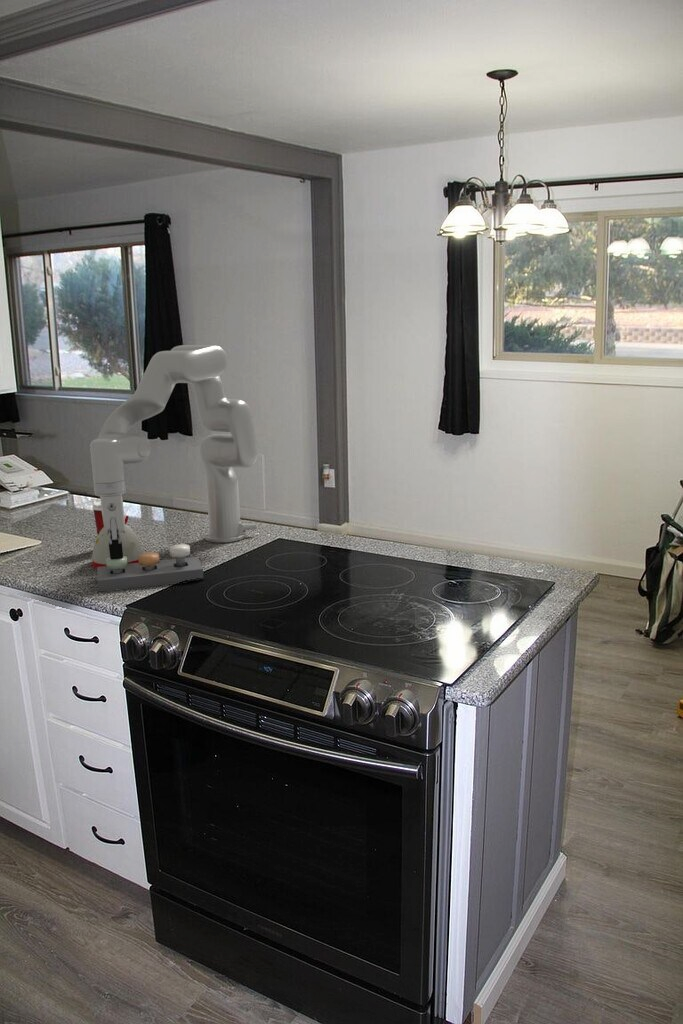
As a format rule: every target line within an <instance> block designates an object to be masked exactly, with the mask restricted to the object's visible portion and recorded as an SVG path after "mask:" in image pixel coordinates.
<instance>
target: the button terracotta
mask: <svg viewBox="0 0 683 1024" xmlns="http://www.w3.org/2000/svg"><path fill="white" fill-rule="evenodd" d="M138 560H139V565H142V566H145V570H154V565H155V564H158V563H159V561H160V555H159V553H158V552H143V554H140V555H139V556H138Z"/></svg>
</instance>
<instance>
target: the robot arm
mask: <svg viewBox="0 0 683 1024" xmlns="http://www.w3.org/2000/svg"><path fill="white" fill-rule="evenodd" d="M227 366H228V356H227V353H226V351H225V350H224V349H223V348H222V347H221V346H219V345H215V344H181V345H176V346H173V348H171V349H170V350H162V351H158V352H156V353H155V354H154V355H152V357H151V359H150V361H149V362H148V365H147V367H146V369H145V371H144V372H143V375H142V377H141V378H140V379H141V380H140V381H139V384H138V385H137V388H136V390H135V391H134V394H132V396H131V397H129V398H128V399H126V400H125V401H124V402H123V403H121V404H120V405H119V406H118V407H116V409H114V410H113V412H111V413H110V414H109V415H108V417H107V419H106V420H105V422H104V423H103V425H102V427H101V430H100V431H99V434H98V437H97V438H95V439H92V441H90V444H89V451H90V461H91V471H92V479H93V488H94V489H93V491H94V495H95V496H97V497H99V498H100V501H101V509H102V517H103V522H104V527H105V531H106V534H107V535H108V534H109V541H110V543H109V551H110V559H120V558H123V550H122V542H121V540H120V532H123V533H125V532H126V530H125V518H126V517H125V511H124V510H125V509H124V508H125V507H124V500H123V495H124V494H126V492H127V491H126V490H127V489H126V482H125V481H126V480H125V472H124V471H125V469H124V465H128V464H129V465H130V464H140V463H143V462H144V461H146V460H147V459H148V458H149V456H150V455H151V451H152V445H151V442H150V441H149V439H148V438H147V437H146V436H144V435H143V434H139V433H131V432H130V433H128V431H129V430H130V429H131V428H132V427H134V426H135V425H136V424H138V423H139V422H143V421H145V420H148V419H150V418H152V417H154V416H156V415H158V414H160V413H162V412H163V411H164V410H165V408H166V405H167V403H168V401H169V399H170V397H171V395H172V393H173V390H174V388H175V386H176V384H190V385H191V387H192V390H193V394H194V399H195V404H196V408H197V413H198V418H199V422H200V425H201V427H202V428H203V430H205V431H209V432H217V433H213V434H209V435H207V436H205V437H204V438H203V440H202V441H201V443H200V445H199V446H200V448H199V451H200V452H199V453H200V458H201V461H202V465H203V469H204V474H205V484H206V485H205V487H206V501H207V502H206V503H207V515H208V516H207V517H208V529H209V530H208V532H206V533H204V540H205V541H207V542H210V543H219V544H220V543H221V544H222V543H233V542H237V541H241V540H243V539H245V538H246V537H247V531H254V530H255V531H256V530H257V523H251V522H246V523H244V522H243V521H241V511H240V510H241V509H240V496H239V495H240V494H239V479H238V476H237V473H236V472H235V470H234V468H240V469H247V468H251V467H253V466H254V464H255V463H256V461H257V460H258V453H259V449H258V441H257V440H258V439H257V435H256V434H257V433H256V429H255V428H256V427H255V422H254V416H253V413H252V410H251V408H250V405H249V404H248V403H247V402H246V401H244V400H241V399H237V398H235V399H233V398H228V397H226V394H225V390H224V385H223V381H222V379H221V376H220V375H222V374H223V373H225V371H226V368H227ZM219 432H221V433H219ZM228 433H230V434H228Z"/></svg>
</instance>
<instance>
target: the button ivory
mask: <svg viewBox="0 0 683 1024" xmlns="http://www.w3.org/2000/svg"><path fill="white" fill-rule="evenodd" d="M189 555H191V547H190V545H189V544H186V543H184V544H183V543H180V544H174V545H171V546H169V557H172V558H175V559H176V566H177V567H183V566H185V565H186V564H185V558H186V557H187V556H188V557H189Z"/></svg>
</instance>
